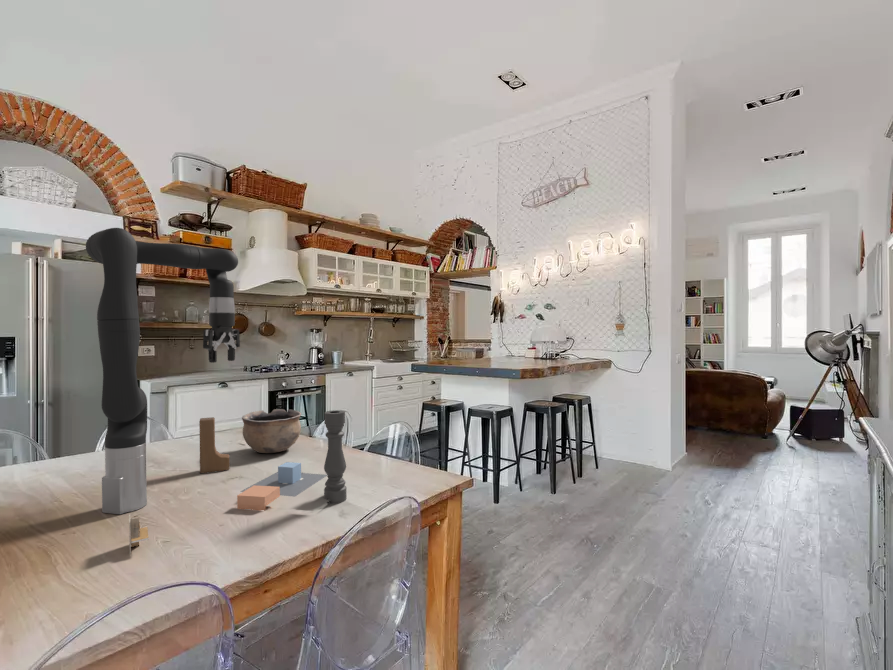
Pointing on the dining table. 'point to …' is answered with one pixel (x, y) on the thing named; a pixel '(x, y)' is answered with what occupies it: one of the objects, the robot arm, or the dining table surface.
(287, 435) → the ceramic bowl
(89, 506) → the dining table surface
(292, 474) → the blue cube
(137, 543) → the architectural model
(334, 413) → the candle holder
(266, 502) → the terracotta block
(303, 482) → the letter board
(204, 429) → the wooden block
